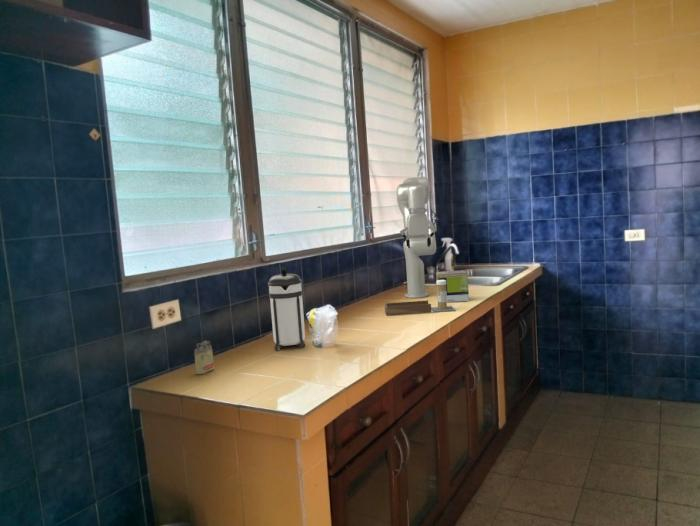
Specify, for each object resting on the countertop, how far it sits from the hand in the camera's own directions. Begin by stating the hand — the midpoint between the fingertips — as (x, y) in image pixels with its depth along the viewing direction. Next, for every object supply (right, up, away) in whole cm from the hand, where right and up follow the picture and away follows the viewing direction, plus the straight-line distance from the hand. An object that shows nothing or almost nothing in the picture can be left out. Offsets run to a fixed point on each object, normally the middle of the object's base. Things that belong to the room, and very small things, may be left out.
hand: (418, 247), depth 267 cm
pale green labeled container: (-81, -44, -84) cm, 125 cm away
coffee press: (-57, -39, -56) cm, 89 cm away
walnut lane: (-6, -31, -8) cm, 32 cm away
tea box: (+19, -27, +14) cm, 36 cm away
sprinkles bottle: (+10, -29, -8) cm, 32 cm away
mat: (+10, -30, -8) cm, 32 cm away
